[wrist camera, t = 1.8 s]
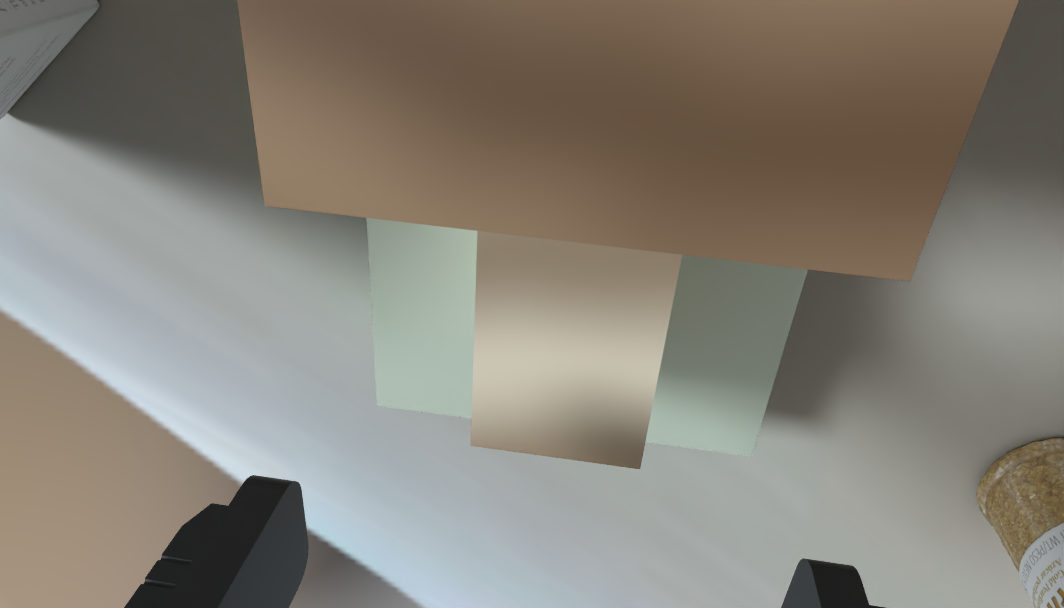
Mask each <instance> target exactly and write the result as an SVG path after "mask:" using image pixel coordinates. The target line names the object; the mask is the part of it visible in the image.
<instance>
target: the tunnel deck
mask: <svg viewBox="0 0 1064 608" xmlns="http://www.w3.org/2000/svg"><path fill="white" fill-rule="evenodd" d="M1018 2H1019V0H237V4H238V12H239V19H240V27H241V34H242V41H243V49H244V56H245V64H246V71H247V79H248V86H249V94H250V101H251V109H252V116H253V123H254V131H255V138H256V146H257V153H258V161H259V168H260V176H261V183H262V191H263V198H264V205H265V206H270V207H278V208H287V209H295V210H304V211H312V212H321V213H329V214H338V215H346V216H355V217H364V218H366V219H367V237H368V255H369V273H370V291H371V309H372V327H373V345H374V363H375V381H376V399H377V406H384V407H391V408H398V409H406V410H413V411H421V412H428V413H435V414H443V415H450V416H457V417H465V418H471V417H472V386H473V354H474V323H475V292H476V260H477V231H483V232H492V233H500V234H509V235H517V236H526V237H534V238H543V239H552V240H560V241H569V242H577V243H586V244H594V245H603V246H611V247H620V248H628V249H637V250H646V251H654V252H663V253H671V254H680V255H682V259H681V264H680V269H679V274H678V279H677V285H676V290H675V295H674V300H673V305H672V310H671V315H670V320H669V325H668V330H667V335H666V340H665V345H664V350H663V355H662V360H661V365H660V370H659V375H658V380H657V386H656V391H655V396H654V401H653V406H652V411H651V416H650V421H649V426H648V431H647V436H646V441H645V442H649V443H656V444H663V445H671V446H678V447H686V448H693V449H700V450H708V451H715V452H722V453H730V454H737V455H744V456H752V453H753V450H754V447H755V443H756V440H757V437H758V433H759V430H760V427H761V423H762V420H763V417H764V414H765V410H766V407H767V404H768V400H769V397H770V394H771V390H772V387H773V384H774V381H775V377H776V374H777V371H778V367H779V364H780V361H781V357H782V354H783V351H784V348H785V344H786V341H787V338H788V334H789V331H790V328H791V324H792V321H793V318H794V315H795V311H796V308H797V305H798V301H799V298H800V295H801V292H802V288H803V285H804V282H805V278H806V275H807V272H808V270H816V271H825V272H834V273H842V274H851V275H859V276H868V277H876V278H885V279H893V280H902V281H910V279H911V276H912V274H913V271H914V269H915V266H916V263H917V261H918V258H919V256H920V253H921V251H922V248H923V245H924V243H925V240H926V238H927V235H928V233H929V230H930V228H931V225H932V222H933V220H934V217H935V215H936V212H937V210H938V207H939V204H940V202H941V199H942V197H943V194H944V192H945V189H946V186H947V184H948V181H949V179H950V176H951V174H952V171H953V169H954V166H955V163H956V161H957V158H958V156H959V153H960V151H961V148H962V145H963V143H964V140H965V138H966V135H967V133H968V130H969V127H970V125H971V122H972V120H973V117H974V115H975V112H976V110H977V107H978V104H979V102H980V99H981V97H982V94H983V92H984V89H985V86H986V84H987V81H988V79H989V76H990V74H991V71H992V68H993V66H994V63H995V61H996V58H997V56H998V53H999V51H1000V48H1001V45H1002V43H1003V40H1004V38H1005V35H1006V33H1007V30H1008V27H1009V25H1010V22H1011V20H1012V17H1013V15H1014V12H1015V9H1016V7H1017V4H1018Z"/></svg>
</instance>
